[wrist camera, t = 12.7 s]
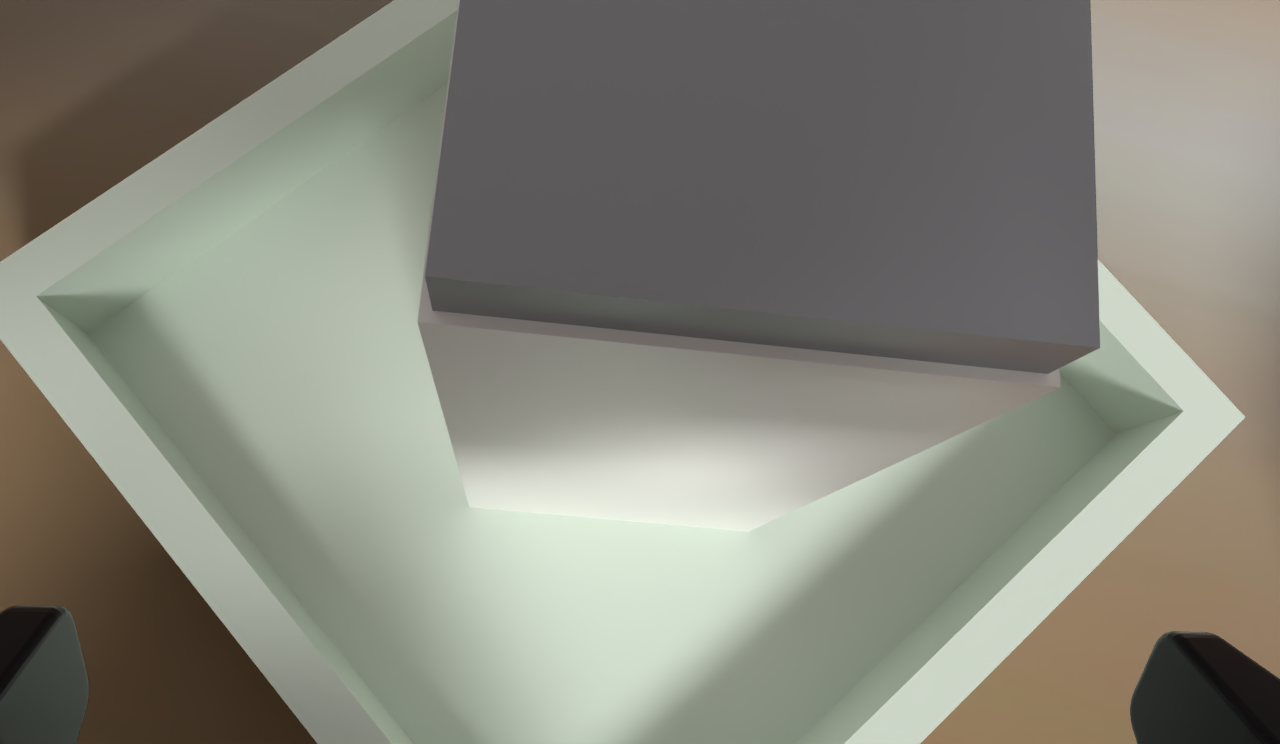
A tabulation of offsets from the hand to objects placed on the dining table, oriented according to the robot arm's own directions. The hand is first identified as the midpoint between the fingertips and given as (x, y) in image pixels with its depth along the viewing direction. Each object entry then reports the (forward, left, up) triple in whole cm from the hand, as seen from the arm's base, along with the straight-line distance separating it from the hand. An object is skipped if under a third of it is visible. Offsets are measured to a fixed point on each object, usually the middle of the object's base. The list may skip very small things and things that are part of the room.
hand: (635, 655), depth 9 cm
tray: (+4, +3, -11) cm, 12 cm away
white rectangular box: (+4, +3, -10) cm, 11 cm away
